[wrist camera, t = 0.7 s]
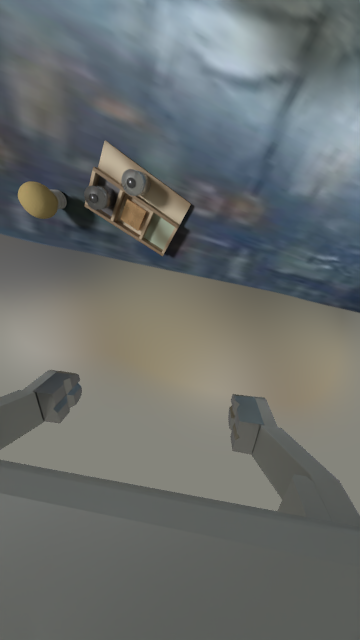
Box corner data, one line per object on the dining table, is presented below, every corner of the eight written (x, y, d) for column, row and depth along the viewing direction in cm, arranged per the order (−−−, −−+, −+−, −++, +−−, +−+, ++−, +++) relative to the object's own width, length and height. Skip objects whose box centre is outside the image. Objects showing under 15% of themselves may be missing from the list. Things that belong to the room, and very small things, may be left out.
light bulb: (57, 175, 41) (21, 172, 33) (79, 205, 44) (50, 209, 36) (41, 193, 43) (3, 194, 35) (62, 219, 46) (32, 226, 38)
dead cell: (101, 181, 39) (85, 180, 34) (118, 193, 40) (105, 194, 35) (96, 200, 42) (80, 202, 36) (113, 211, 43) (99, 214, 37)
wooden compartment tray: (107, 141, 37) (99, 138, 34) (191, 203, 41) (190, 205, 38) (91, 206, 44) (83, 208, 41) (164, 253, 48) (161, 257, 45)
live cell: (136, 166, 37) (124, 163, 32) (153, 179, 38) (145, 178, 33) (129, 187, 40) (117, 187, 34) (145, 199, 40) (136, 200, 35)
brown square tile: (128, 198, 41) (127, 198, 40) (147, 211, 42) (146, 211, 41) (121, 218, 43) (120, 219, 42) (139, 230, 44) (138, 230, 43)
